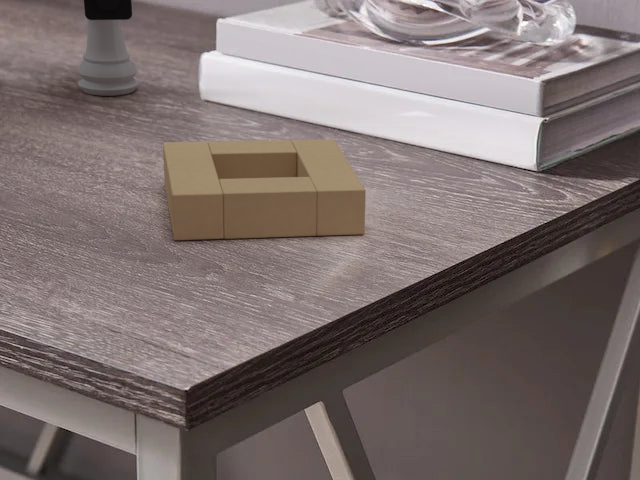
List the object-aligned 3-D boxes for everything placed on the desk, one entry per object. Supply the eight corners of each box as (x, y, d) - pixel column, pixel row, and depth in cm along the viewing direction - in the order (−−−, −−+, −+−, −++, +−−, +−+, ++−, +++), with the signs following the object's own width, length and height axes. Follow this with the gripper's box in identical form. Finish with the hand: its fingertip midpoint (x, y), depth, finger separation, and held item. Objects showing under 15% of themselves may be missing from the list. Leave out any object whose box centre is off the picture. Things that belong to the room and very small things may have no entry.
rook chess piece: (150, 91, 96) (145, -20, 93) (97, 99, 94) (89, -15, 90) (119, 80, 99) (112, -29, 96) (66, 87, 97) (58, -24, 93)
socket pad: (174, 241, 67) (172, 194, 66) (164, 183, 76) (162, 141, 75) (364, 234, 69) (365, 189, 68) (333, 179, 78) (334, 138, 77)
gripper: (35, -262, 93) (57, -16, 101) (25, -258, 78) (52, 31, 86) (141, -259, 95) (155, -16, 102) (151, -254, 80) (166, 29, 88)
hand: (108, 5), depth 94 cm, fingers open, 9 cm apart
